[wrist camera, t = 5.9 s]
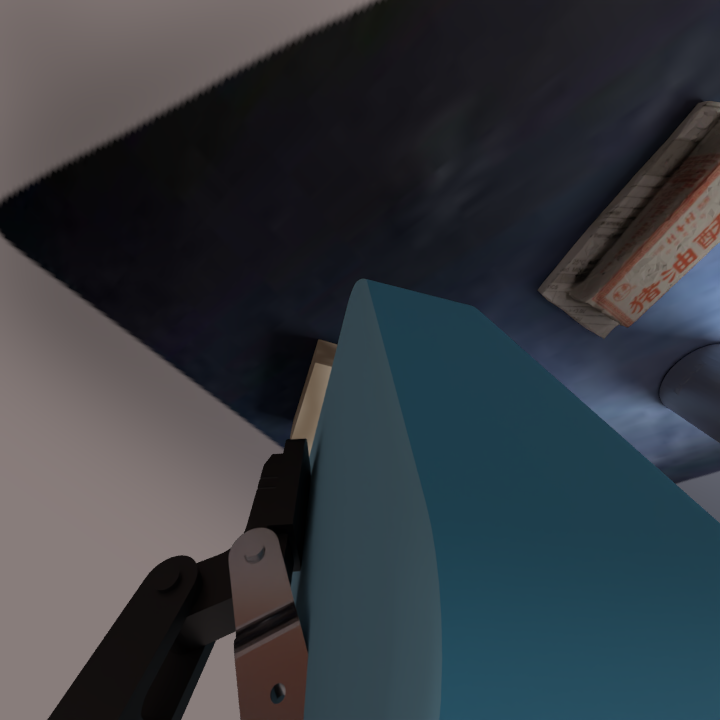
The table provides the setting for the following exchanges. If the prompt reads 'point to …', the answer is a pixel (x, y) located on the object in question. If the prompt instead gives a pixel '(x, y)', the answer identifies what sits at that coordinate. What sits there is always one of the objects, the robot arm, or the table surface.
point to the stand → (313, 393)
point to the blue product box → (491, 539)
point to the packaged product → (646, 231)
